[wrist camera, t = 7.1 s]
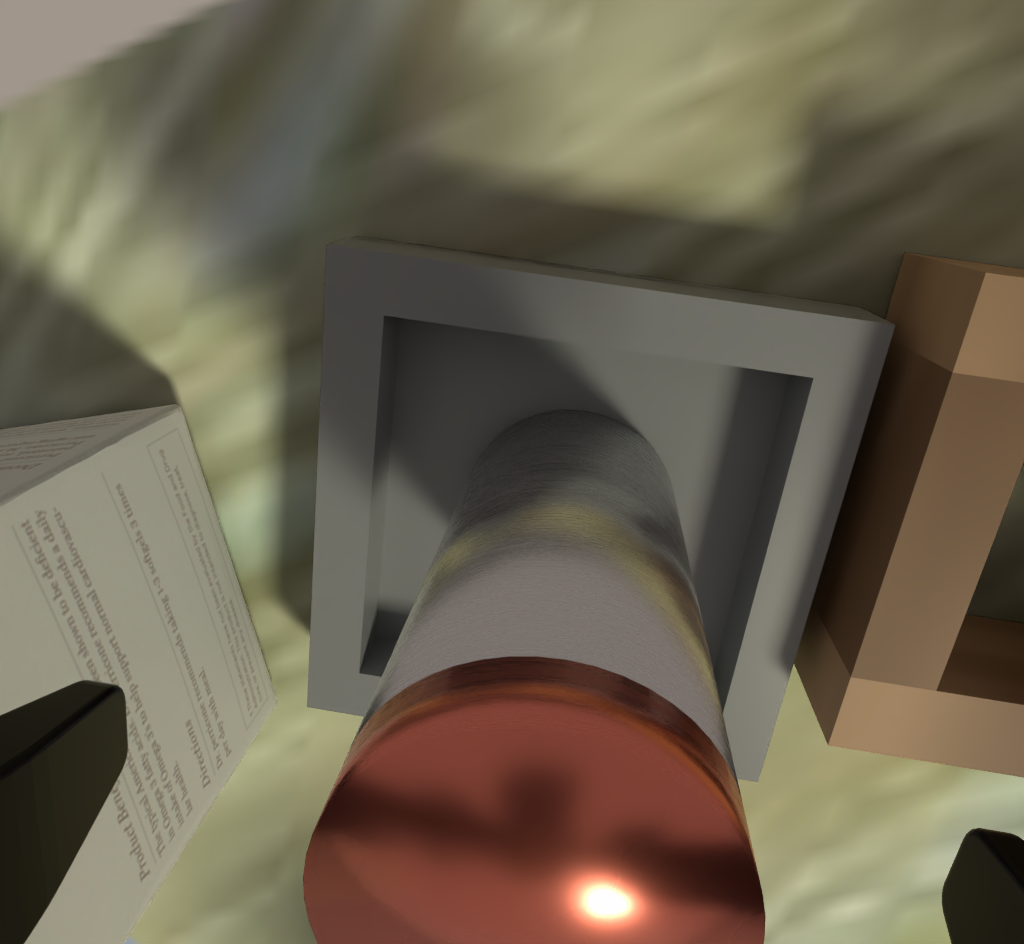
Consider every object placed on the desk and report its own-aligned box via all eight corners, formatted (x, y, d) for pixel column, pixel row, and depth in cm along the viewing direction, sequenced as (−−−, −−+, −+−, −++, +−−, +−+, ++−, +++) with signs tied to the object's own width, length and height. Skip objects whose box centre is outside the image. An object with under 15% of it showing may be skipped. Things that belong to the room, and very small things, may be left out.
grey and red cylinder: (694, 426, 14) (819, 777, 6) (653, 616, 16) (709, 1110, 8) (477, 394, 15) (310, 690, 6) (456, 584, 16) (296, 1028, 8)
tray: (859, 306, 14) (895, 324, 12) (741, 722, 17) (757, 781, 16) (357, 236, 14) (326, 244, 13) (334, 655, 18) (306, 707, 16)
